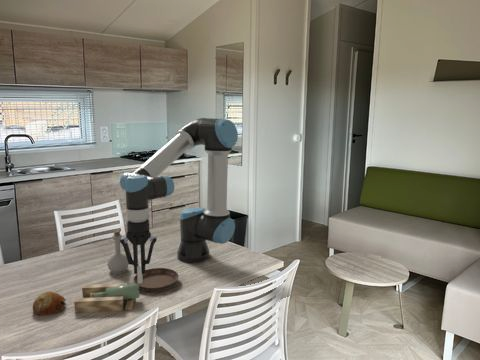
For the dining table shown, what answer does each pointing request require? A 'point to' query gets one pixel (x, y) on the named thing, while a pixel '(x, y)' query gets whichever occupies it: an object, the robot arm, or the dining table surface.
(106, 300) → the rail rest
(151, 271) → the plant saucer
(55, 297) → the bread roll
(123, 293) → the bottle
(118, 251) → the potion bottle
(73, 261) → the dining table surface
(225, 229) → the robot arm
